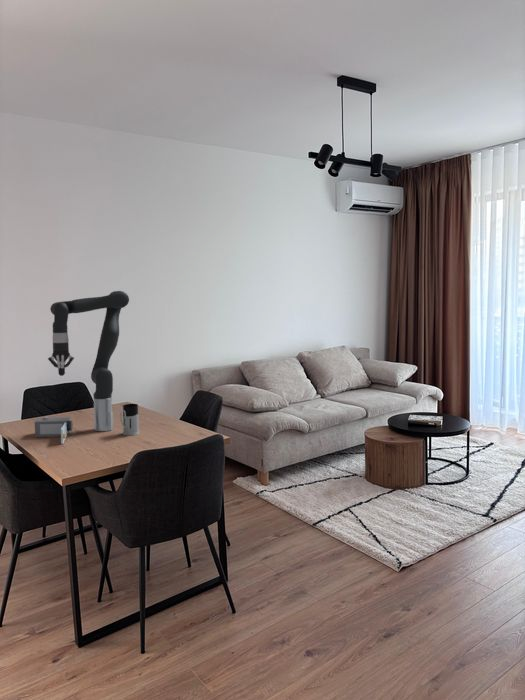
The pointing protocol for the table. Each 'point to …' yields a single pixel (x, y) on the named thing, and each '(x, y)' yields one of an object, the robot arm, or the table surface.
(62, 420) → the grey box with knob
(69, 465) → the table surface
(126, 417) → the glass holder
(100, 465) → the table surface
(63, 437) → the side door
